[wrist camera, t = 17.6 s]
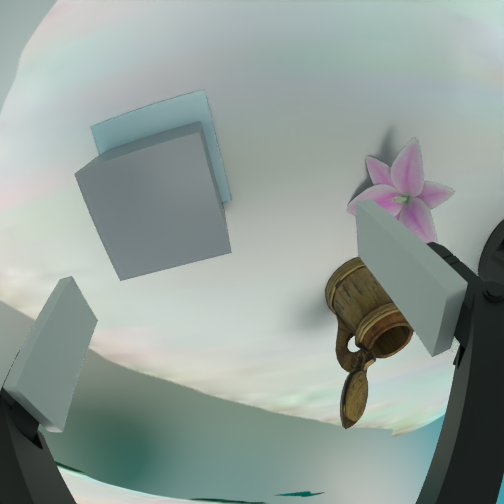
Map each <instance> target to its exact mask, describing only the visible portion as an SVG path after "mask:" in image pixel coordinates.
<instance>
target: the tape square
mask: <svg viewBox="0 0 504 504" xmlns="http://www.w3.org/2000/svg"><path fill="white" fill-rule="evenodd" d="M198 121H201V124H202V128H203V132H204V135H205V139H206V143H207V147H208V151H209V155H210V159H211V163H212V167H213V170H214V174H215V178H216V182H217V186H218V190H219V193H220V197H221V201H222V203H224V202H228V201H232V199H231V195H230V191H229V187H228V183H227V179H226V175H225V171H224V167H223V163H222V159H221V155H220V151H219V147H218V143H217V139H216V135H215V131H214V127H213V123H212V119H211V115H210V111H209V107H208V103H207V98H206V94H205V90H201V91H197V92H193V93H189V94H186V95H182V96H178V97H175V98H172V99H168V100H165V101H162V102H158V103H155V104H152V105H149V106H146V107H143V108H140V109H137V110H134V111H131V112H128V113H126V114H123V115H120V116H117V117H115V118H112V119H109V120H107V121H104V122H102V123H99V124H97V125H94V126H92V127H91V130H92V133H93V136H94V140H95V143H96V146H97V149H98V152H99V155H101V154H102V153H103V152H105V151H107V150H110V149H112V148H115V147H118V146H121V145H124V144H126V143H129V142H132V141H135V140H138V139H141V138H144V137H147V136H150V135H153V134H157V133H160V132H163V131H166V130H170V129H173V128H177V127H180V126H184V125H187V124H191V123H195V122H198Z"/></svg>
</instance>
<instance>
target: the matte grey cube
mask: <svg viewBox="0 0 504 504" xmlns="http://www.w3.org/2000/svg"><path fill="white" fill-rule="evenodd" d="M75 177H76V179H77V182H78V185H79V187H80V190H81V193H82V195H83V198H84V200H85V203H86V205H87V208H88V210H89V213H90V215H91V218H92V220H93V222H94V225H95V227H96V229H97V232H98V234H99V236H100V239H101V241H102V243H103V245H104V247H105V250H106V252H107V254H108V256H109V258H110V260H111V263H112V265H113V267H114V269H115V271H116V273H117V275H118V277H119V279H120V281H122V280H126V279H130V278H134V277H138V276H142V275H145V274H149V273H153V272H157V271H161V270H165V269H169V268H173V267H177V266H181V265H185V264H189V263H192V262H196V261H200V260H204V259H208V258H212V257H216V256H220V255H224V254H228V253H232V252H231V247H230V241H229V235H228V229H227V224H226V218H225V212H224V208H223V205H222V201H221V197H220V193H219V190H218V186H217V182H216V178H215V174H214V170H213V167H212V163H211V159H210V155H209V151H208V147H207V143H206V139H205V135H204V132H203V128H202V124H201V121H198V122H195V123H191V124H187V125H184V126H180V127H177V128H173V129H170V130H166V131H163V132H160V133H157V134H153V135H150V136H147V137H144V138H141V139H138V140H135V141H132V142H129V143H126V144H124V145H121V146H118V147H115V148H112V149H110V150H107V151H105V152H103V153H102V154H101V155H99V156H98V157H96V158H95V159H94V160H92V161H91V162H90V163H88V164H87V165H86V166H84V167H83V168H82V169H80V170H79V171H78V172H76V173H75Z"/></svg>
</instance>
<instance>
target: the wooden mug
mask: <svg viewBox="0 0 504 504" xmlns="http://www.w3.org/2000/svg"><path fill="white" fill-rule="evenodd" d="M326 301H327V305H328V307H329V309H330V310H331V311H332V312H333V313H334V314H335V315H336V316H337V320H338V332H337V339H336V355H337V360H338V362H339V364H340V365H341V367H342V368H343V369H344V370H346V371H347V372H349V375H348V376H347V378H346V380H345V383H344V386H343V390H342V394H341V401H340V417H341V421H342V426H343V427H344V428H345V429H347V428H349V427H351V426H353V425H354V424H355V423H356V422H357V421H358V420H359V419H360V418H361V416H362V415H363V412H364V410H365V406H366V402H367V397H368V381H367V377H366V373H367V368H368V367H369V366H370V365H371V364H373V363H374V362H375V361H376V358H387V357H390V356H392V355H394V354H396V353H397V352H399V351H400V350H402V349H403V348H404V347H405V346H406V345H407V344H408V342H409V341H410V339H411V337H412V335H413V332H414V330H413V328H412V327H411V325H410V324H409V323H408V321H407V320H406V318H405V317H404V316H403V314H402V313H401V311H400V310H399V309H398V307H397V306H396V305H395V303H394V302H393V300H392V299H391V298H390V296H389V295H388V294H387V292H386V291H385V290H384V288H383V287H382V286H381V284H380V283H379V282H378V280H377V279H376V278H375V277H374V275H373V274H372V273H371V271H370V270H369V269H368V267H367V266H366V265H365V264H364V262H363V261H362V260H361V259H360V258H355V259H352V260H350V261H348V262H346V263H345V264H344V265H342V266H341V267H340V268H339V269H338V270H337V271H336V272H335V273H334V274H333V276H332V277H331V279H330V280H329V282H328V284H327V287H326ZM353 336H355V345H356V346H357V347H359V348H360V350H359V351H357V352H354V353H353V352H350V351H349V350H348V348H347V347H348V342H349V340H350V339H351V338H352V337H353Z"/></svg>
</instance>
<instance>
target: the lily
mask: <svg viewBox="0 0 504 504" xmlns="http://www.w3.org/2000/svg"><path fill="white" fill-rule="evenodd" d="M366 164H367V168H368V171H369V174H370V177H371V180H372V182H373V184H374V186H372V187H370V188H368V189H366V190H365V191H363V192H362V193H361V194H359V195H358V196H357V197H355V198H354V199H353V200H352V201H351V202H350V203H349V204H348V206H347V211H348V212H349V213H351V214H353V215H356V211H355V201H359V200H363V199H368V198H371V199H372V200H374V201H375V202H376V203H377V204H379V205H380V206H381V207H382V208H384V209H385V210H386V211H387V212H389V213H390V214H391V215H392V216H394V217H395V218H396V219H397V220H398V221H400V222H401V223H402V224H403V225H404V226H406V227H407V228H408V229H409V230H410V231H412V232H413V233H414V234H415V235H416V236H417V237H419V238H420V239H421V240H422V241H423V242H424V243H425V244H426V243H429V242H435V243H437V244H438V240H437V235H436V231H435V227H434V223H433V220H432V216H431V213H430V210H431V209H433V208H435V207H437V206H438V205H440V204H441V203H443V202H444V201H446V200H447V199H448V198H450V197H451V196H452V195H453V194H454V192H455V191H454V190H453V189H452V188H450V187H448V186H444V185H441V184H438V183H434V182H429V181H424V172H423V164H422V156H421V150H420V145H419V142H418V140H417V138H412V139H411V140H410V141H409V142H408V143H407V144H406V145H405V146H404V148H403V149H402V150H401V152H400V153H399V154H398V156H397V157H396V159H395V160H394V162H393V164H392V166H391V167H390V166H388V165H387V164H385V163H383V162H381V161H379V160H377V159H375V158H373V157H370V156H367V157H366Z"/></svg>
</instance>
